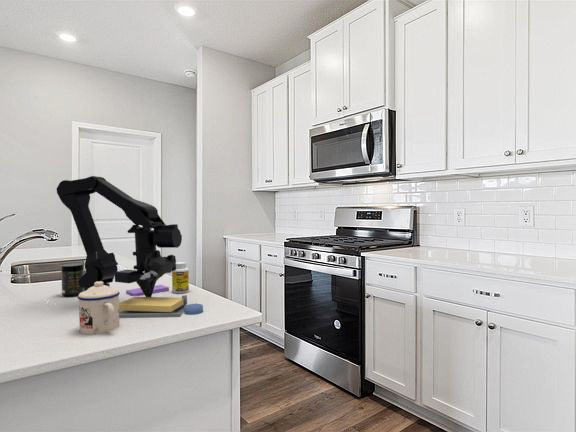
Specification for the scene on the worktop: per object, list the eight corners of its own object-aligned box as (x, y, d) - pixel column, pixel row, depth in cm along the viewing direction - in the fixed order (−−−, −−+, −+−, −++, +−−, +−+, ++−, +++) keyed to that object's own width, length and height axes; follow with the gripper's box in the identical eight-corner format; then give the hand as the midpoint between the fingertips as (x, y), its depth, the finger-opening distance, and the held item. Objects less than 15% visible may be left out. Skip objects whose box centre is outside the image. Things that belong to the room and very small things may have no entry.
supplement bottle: (175, 294, 126) (174, 264, 126) (170, 291, 131) (169, 262, 131) (191, 292, 129) (190, 262, 129) (186, 289, 134) (185, 261, 134)
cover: (116, 310, 102) (115, 302, 102) (134, 302, 111) (134, 294, 111) (173, 312, 100) (173, 303, 100) (187, 303, 109) (187, 295, 109)
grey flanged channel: (111, 319, 99) (111, 314, 99) (125, 309, 108) (125, 305, 108) (179, 318, 99) (179, 313, 99) (188, 308, 108) (188, 304, 108)
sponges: (169, 292, 132) (169, 287, 132) (133, 298, 123) (132, 293, 123) (161, 289, 137) (161, 284, 137) (125, 295, 129) (125, 289, 129)
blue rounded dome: (182, 316, 101) (182, 308, 101) (187, 311, 106) (187, 303, 106) (200, 316, 101) (200, 308, 101) (204, 311, 106) (204, 303, 106)
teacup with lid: (72, 330, 91) (71, 282, 90) (111, 321, 97) (110, 276, 97) (92, 341, 83) (90, 289, 82) (132, 331, 89) (131, 282, 89)
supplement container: (88, 294, 128) (87, 264, 128) (68, 298, 123) (67, 266, 122) (78, 292, 132) (77, 262, 132) (57, 296, 126) (57, 265, 126)
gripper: (141, 254, 98) (144, 312, 99) (188, 244, 115) (191, 293, 116) (111, 252, 103) (115, 307, 104) (161, 243, 120) (163, 290, 121)
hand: (148, 299), depth 111 cm, fingers closed
